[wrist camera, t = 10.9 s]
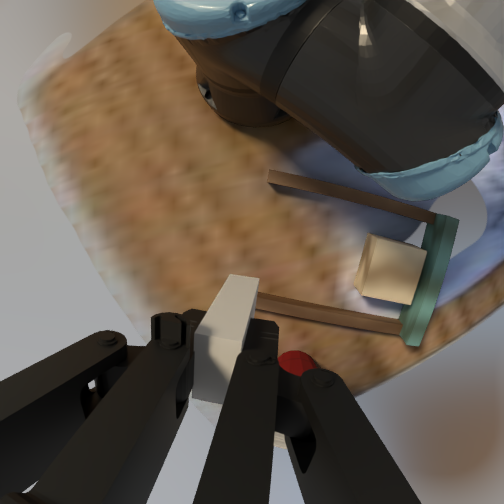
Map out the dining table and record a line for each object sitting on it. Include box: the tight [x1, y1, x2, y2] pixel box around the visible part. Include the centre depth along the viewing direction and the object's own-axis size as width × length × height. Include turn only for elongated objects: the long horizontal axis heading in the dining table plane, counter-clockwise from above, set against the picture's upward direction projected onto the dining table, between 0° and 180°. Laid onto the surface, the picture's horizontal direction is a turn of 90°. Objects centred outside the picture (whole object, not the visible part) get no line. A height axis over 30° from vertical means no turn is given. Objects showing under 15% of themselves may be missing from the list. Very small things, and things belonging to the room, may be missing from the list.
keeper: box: [354, 233, 427, 305], centre depth 35 cm, size 7×7×4 cm
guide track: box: [255, 169, 459, 346], centre depth 35 cm, size 17×24×5 cm
